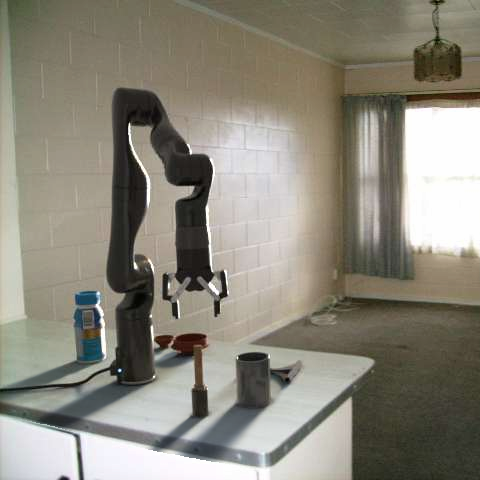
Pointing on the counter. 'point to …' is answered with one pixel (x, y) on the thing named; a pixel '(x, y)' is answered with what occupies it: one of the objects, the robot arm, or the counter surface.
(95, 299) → the beverage bottle
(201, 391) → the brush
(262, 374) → the grey metal cup
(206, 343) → the pottery
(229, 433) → the counter surface
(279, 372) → the bracket
